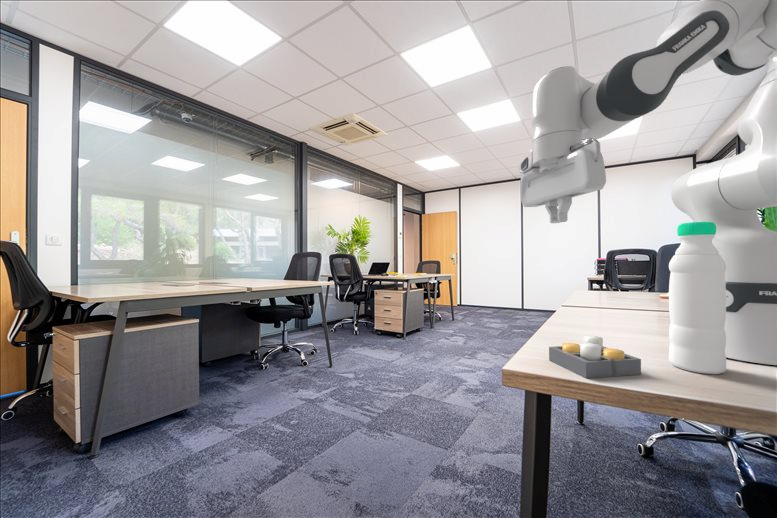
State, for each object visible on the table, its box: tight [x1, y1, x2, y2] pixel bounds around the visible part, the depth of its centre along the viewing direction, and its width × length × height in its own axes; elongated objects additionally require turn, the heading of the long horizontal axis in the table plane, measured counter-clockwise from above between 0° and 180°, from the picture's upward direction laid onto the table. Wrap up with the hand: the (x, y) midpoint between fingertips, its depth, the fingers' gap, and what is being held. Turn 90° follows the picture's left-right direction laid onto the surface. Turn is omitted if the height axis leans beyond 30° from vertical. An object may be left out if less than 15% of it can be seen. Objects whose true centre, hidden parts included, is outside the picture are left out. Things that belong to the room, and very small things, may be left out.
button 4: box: [603, 347, 625, 360], centre depth 53 cm, size 3×3×3 cm
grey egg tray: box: [548, 345, 642, 379], centre depth 55 cm, size 10×9×2 cm
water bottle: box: [668, 221, 727, 375], centre depth 54 cm, size 7×7×25 cm
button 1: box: [561, 342, 580, 353], centre depth 57 cm, size 3×3×3 cm
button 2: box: [579, 342, 601, 361], centre depth 53 cm, size 3×3×3 cm
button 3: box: [583, 335, 604, 351], centre depth 58 cm, size 3×3×3 cm
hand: (558, 222), depth 64 cm, fingers closed
